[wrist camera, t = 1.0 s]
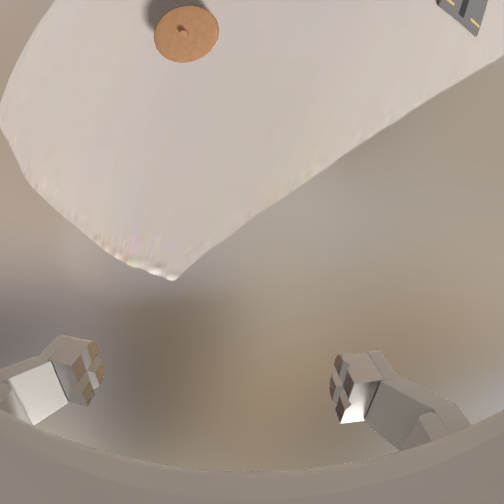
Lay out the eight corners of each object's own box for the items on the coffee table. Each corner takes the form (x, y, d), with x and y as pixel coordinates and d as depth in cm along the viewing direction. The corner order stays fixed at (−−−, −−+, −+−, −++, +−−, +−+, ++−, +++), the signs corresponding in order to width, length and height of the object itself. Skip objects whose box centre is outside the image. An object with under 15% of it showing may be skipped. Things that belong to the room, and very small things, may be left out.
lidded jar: (162, 58, 43) (146, 61, 36) (172, 9, 36) (156, 3, 29) (217, 63, 44) (210, 66, 37) (228, 13, 37) (223, 6, 30)
